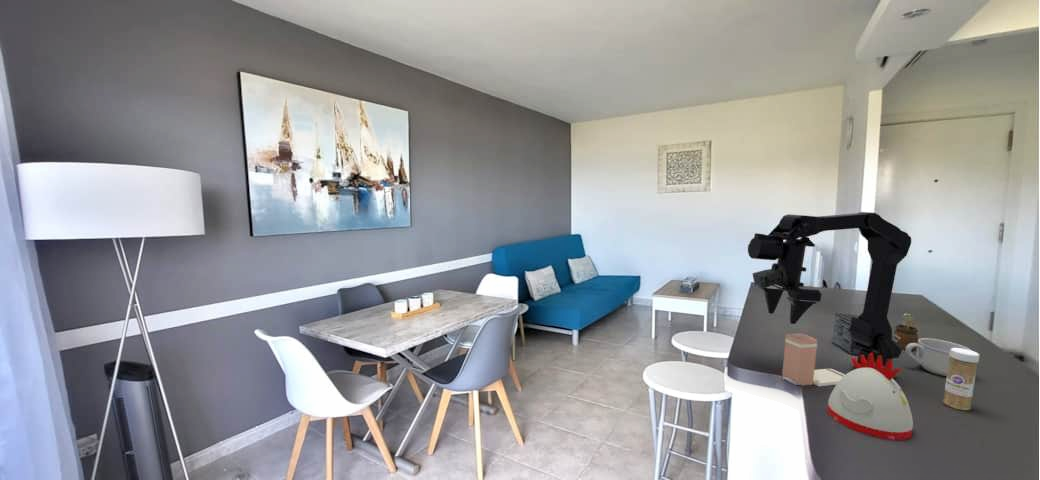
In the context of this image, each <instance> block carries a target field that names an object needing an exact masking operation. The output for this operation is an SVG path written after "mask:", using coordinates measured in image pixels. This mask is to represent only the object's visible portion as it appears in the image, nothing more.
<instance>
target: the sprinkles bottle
mask: <svg viewBox="0 0 1040 480" xmlns="http://www.w3.org/2000/svg"><path fill="white" fill-rule="evenodd" d="M971 350H972V349H970V350H967V349H962V348H951V349H950V354H949V356H950V362H949V368H948V374H947V376H946V379H945V386H944V395H943V399H942V402H943V404H944V405H946V406H948V407H950V408H952V409H956V410H958V411H970V410H971V409H972V406H971V405H972V399H973V398H972V397H973V396H974V395H973V394H974V389H975V388H974V387H975V381H976V374H977V373H976V372H977V367H978V366H977V365H978V364H979V362H980V353H978V352H976V351H974V350H972V351H971Z"/></svg>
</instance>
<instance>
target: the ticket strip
mask: <svg viewBox="0 0 1040 480" xmlns="http://www.w3.org/2000/svg"><path fill="white" fill-rule="evenodd" d="M845 375H846V374H844V373H843V372H840V371H839V370H835V369H833V368H822V369H821V368H819V369H814V379H813V385H815V386H817V387H825V386H836V384H837V383H838V382H839V381H840V380H841V378H842V377H844V376H845Z"/></svg>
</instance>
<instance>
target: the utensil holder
mask: <svg viewBox="0 0 1040 480" xmlns="http://www.w3.org/2000/svg"><path fill="white" fill-rule="evenodd" d="M902 316H905V313H904V314H902ZM914 320H915V314H913V315H912V314H910V313H907V315H906V320H905V321H904V322H901V323H902V324H896V325H895V330H893V332H892V341H893V342H894V343H895V344H896V345H897V346H898V347H899V348H900V349H901V351H902V350H903V351H906V350H905V349H906V346H907V345H908V344H910V343H917V344H918V339H919V335H918V332H919V331H918V328H917V327H914V326H911V325H912V324H914ZM914 351H917V347H913V348H912V349H911V352H914Z"/></svg>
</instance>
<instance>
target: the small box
mask: <svg viewBox="0 0 1040 480" xmlns="http://www.w3.org/2000/svg"><path fill="white" fill-rule="evenodd" d="M859 316H860V315H857V314H850V313H841V312H840V313H839V312H836V313H835V316H834V317H835V318H834V325H833V334H832V341H831V343H832V344H833V345H834V346H836V347H838V348H839V349H840V350H842V351H844V352H845V353H847V354H848V355H850V356H851V355H853V356H858V355H859V354H860V349H862V348H860V347H857V346H855V343H854V339H853V338H852V337H851V331H849V328H850V326H851V319H852V317H855V318H858V317H859Z"/></svg>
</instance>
